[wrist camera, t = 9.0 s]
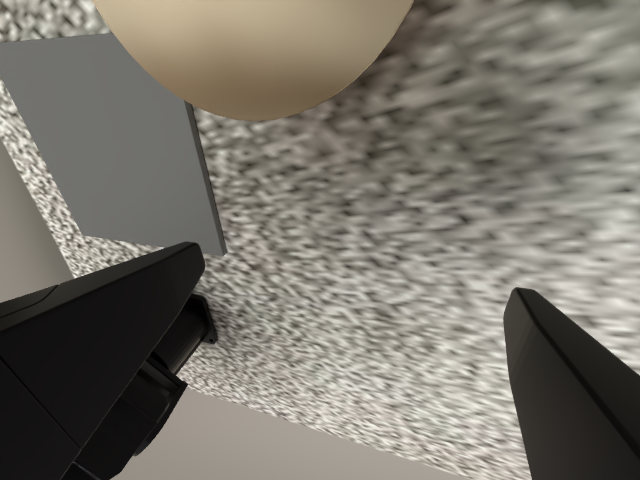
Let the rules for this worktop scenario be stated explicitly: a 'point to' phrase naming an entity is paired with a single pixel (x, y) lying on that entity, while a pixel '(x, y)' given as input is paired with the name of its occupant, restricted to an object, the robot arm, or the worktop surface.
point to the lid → (254, 48)
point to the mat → (114, 141)
